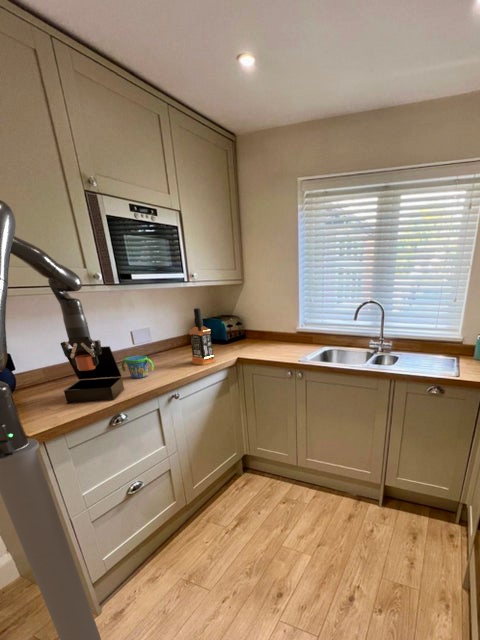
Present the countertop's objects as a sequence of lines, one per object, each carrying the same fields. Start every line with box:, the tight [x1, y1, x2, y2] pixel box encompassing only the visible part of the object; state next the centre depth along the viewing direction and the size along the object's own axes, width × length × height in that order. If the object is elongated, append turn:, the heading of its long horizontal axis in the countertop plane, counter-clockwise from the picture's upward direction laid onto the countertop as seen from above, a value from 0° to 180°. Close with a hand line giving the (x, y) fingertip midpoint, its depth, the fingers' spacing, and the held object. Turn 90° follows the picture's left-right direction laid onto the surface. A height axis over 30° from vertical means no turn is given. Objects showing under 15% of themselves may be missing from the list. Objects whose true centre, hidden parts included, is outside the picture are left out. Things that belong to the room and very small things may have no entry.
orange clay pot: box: [75, 354, 96, 371], centre depth 138 cm, size 6×6×6 cm
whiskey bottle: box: [188, 307, 216, 366], centre depth 196 cm, size 10×10×32 cm
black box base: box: [63, 376, 125, 405], centre depth 145 cm, size 16×18×6 cm
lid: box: [66, 344, 123, 381], centre depth 147 cm, size 16×18×5 cm
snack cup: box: [121, 355, 155, 379], centre depth 172 cm, size 16×10×10 cm
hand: (86, 365), depth 138 cm, fingers closed on orange clay pot, 6 cm apart
